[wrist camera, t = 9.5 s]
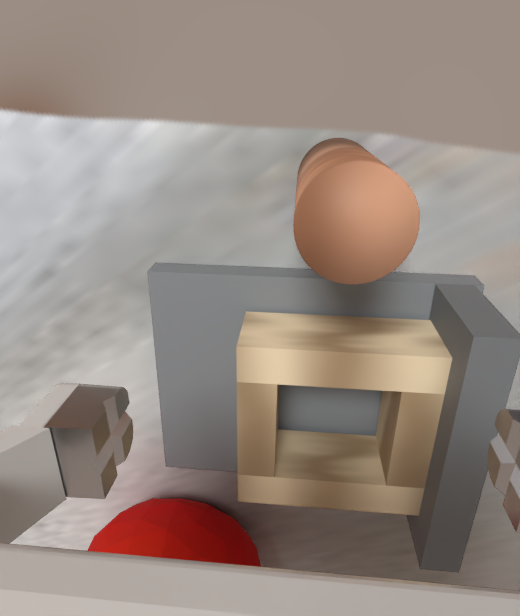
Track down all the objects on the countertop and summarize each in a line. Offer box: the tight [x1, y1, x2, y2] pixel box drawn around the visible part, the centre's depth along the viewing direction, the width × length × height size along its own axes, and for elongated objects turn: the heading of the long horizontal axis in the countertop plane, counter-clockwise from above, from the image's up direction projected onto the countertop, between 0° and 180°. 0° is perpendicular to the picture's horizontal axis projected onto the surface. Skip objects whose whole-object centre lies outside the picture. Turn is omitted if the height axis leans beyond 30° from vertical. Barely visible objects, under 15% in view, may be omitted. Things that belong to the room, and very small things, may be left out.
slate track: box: [148, 263, 520, 572], centre depth 25 cm, size 18×14×8 cm
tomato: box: [88, 499, 261, 567], centre depth 30 cm, size 12×13×12 cm
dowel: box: [294, 138, 420, 284], centre depth 19 cm, size 4×4×10 cm
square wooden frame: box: [236, 311, 452, 516], centre depth 25 cm, size 10×10×4 cm
